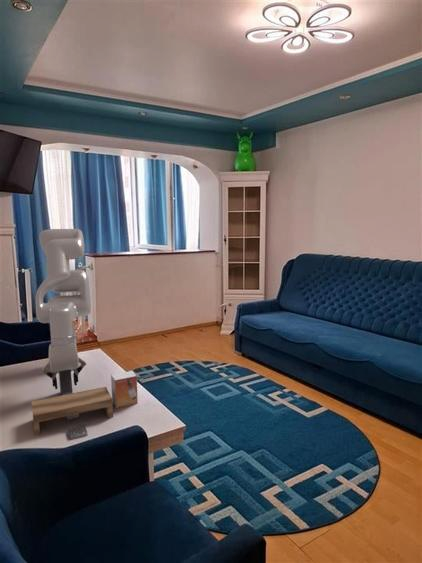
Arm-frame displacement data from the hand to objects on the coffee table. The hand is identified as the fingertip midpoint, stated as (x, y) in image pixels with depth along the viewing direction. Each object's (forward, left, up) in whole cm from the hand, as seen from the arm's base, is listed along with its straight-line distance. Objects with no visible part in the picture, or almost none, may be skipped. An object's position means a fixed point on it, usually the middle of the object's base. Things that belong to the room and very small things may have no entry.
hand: (65, 385), depth 148 cm
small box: (+17, +18, -3) cm, 25 cm away
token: (+30, 0, -4) cm, 30 cm away
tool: (+9, 0, -3) cm, 10 cm away
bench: (+20, 0, -3) cm, 20 cm away
